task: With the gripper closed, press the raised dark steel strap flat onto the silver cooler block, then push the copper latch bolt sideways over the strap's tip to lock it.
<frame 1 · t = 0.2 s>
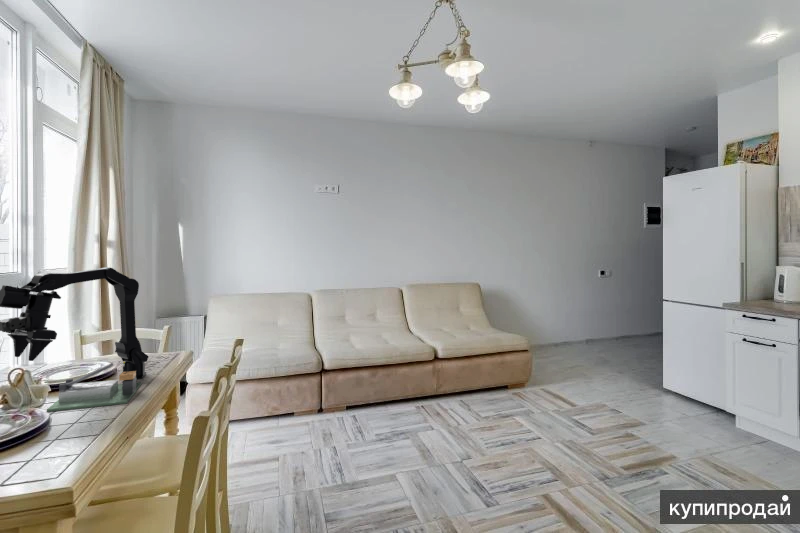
hand: (23, 358, 126), 15 cm above the table, tool pointing down, fingers open, 9 cm apart
supplement bottle: (130, 364, 173), on the table
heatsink: (98, 396, 135), on the table
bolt: (127, 375, 138), point 7 cm above the table, slide at 0.0 cm
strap: (88, 375, 134), point 8 cm above the table, hinge at 25.0°
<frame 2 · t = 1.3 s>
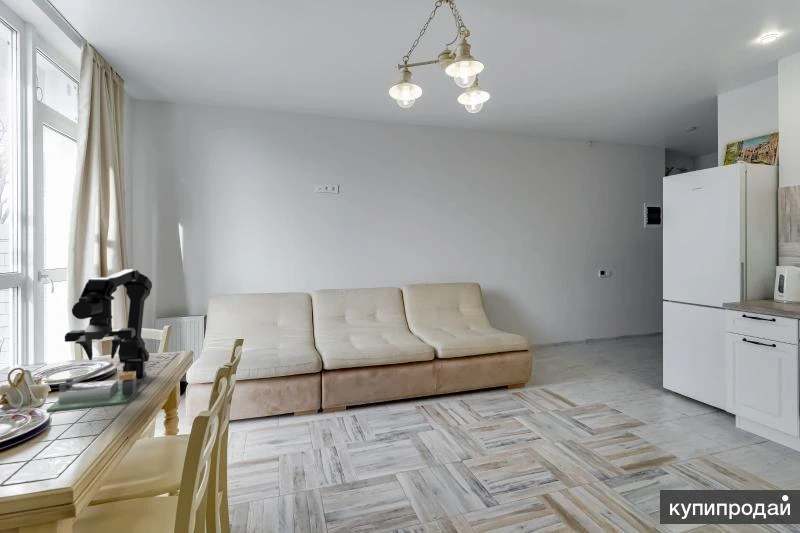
hand: (101, 359, 135), 13 cm above the table, tool pointing down, fingers open, 6 cm apart
nothing on the table moved.
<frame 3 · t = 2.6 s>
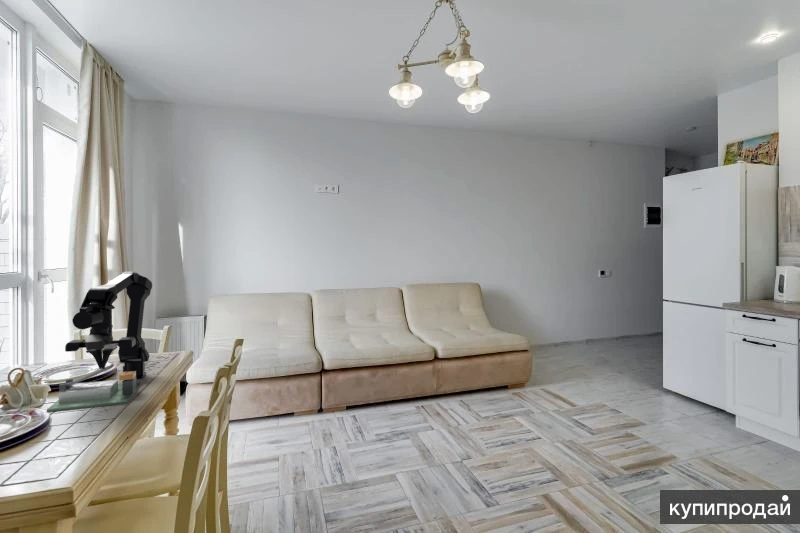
hand: (102, 368, 135), 10 cm above the table, tool pointing down, fingers closed
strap: (88, 376, 134), point 7 cm above the table, hinge at 23.3°, touching gripper
everything else where it was.
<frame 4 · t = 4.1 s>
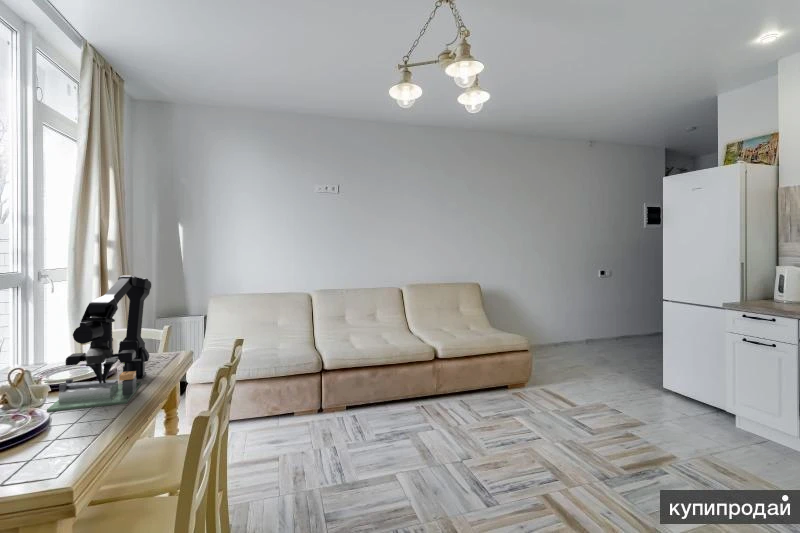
hand: (102, 381, 136), 5 cm above the table, tool pointing down, fingers closed, pressing on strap
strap: (90, 383, 134), point 5 cm above the table, hinge at -0.9°, touching gripper, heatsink
everything else where it was.
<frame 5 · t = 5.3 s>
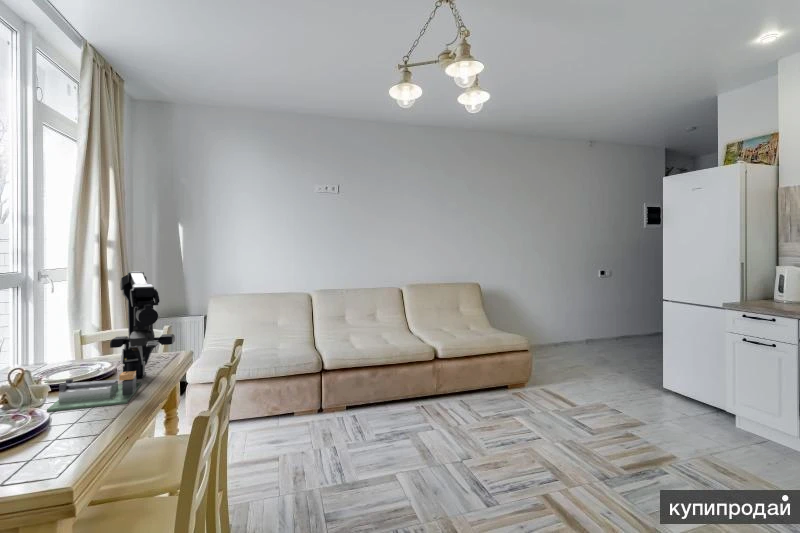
hand: (143, 364, 140), 10 cm above the table, tool pointing down, fingers closed
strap: (90, 383, 134), point 5 cm above the table, hinge at -0.9°, touching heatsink
everything else where it was.
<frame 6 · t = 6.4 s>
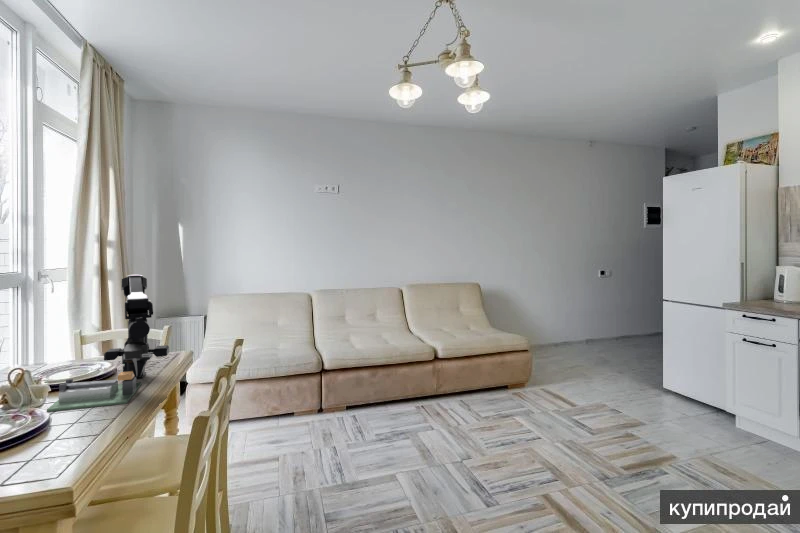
hand: (138, 376, 140), 6 cm above the table, tool pointing down, fingers closed
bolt: (126, 375, 138), point 7 cm above the table, slide at 0.4 cm, touching gripper
everything else where it was.
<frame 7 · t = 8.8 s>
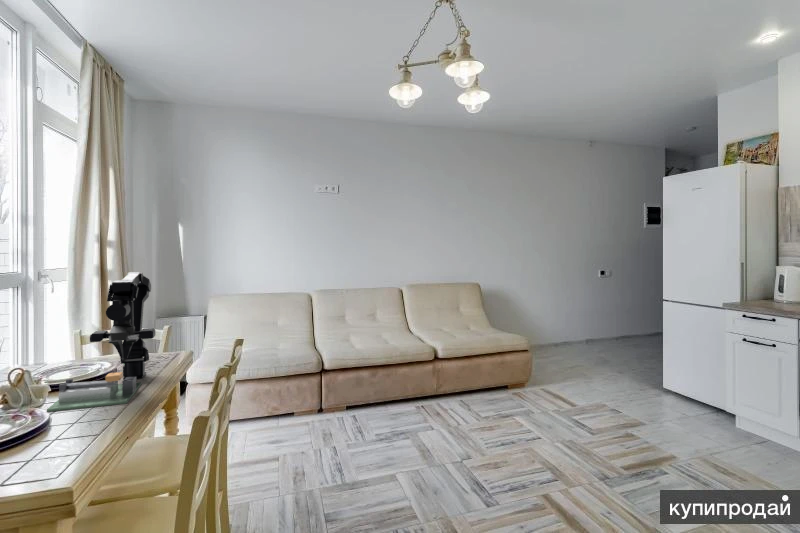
hand: (124, 358, 141), 12 cm above the table, tool pointing down, fingers closed
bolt: (114, 376, 137), point 7 cm above the table, slide at 4.0 cm
everything else where it was.
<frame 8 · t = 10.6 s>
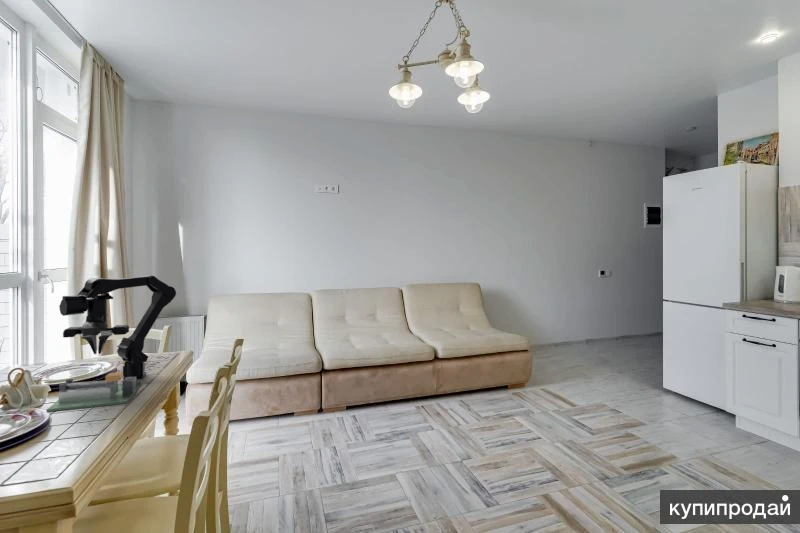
hand: (97, 353, 146), 12 cm above the table, tool pointing down, fingers closed
nothing on the table moved.
at the end: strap at -1° (first picture: +25°); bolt slide at 4.0 cm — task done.
